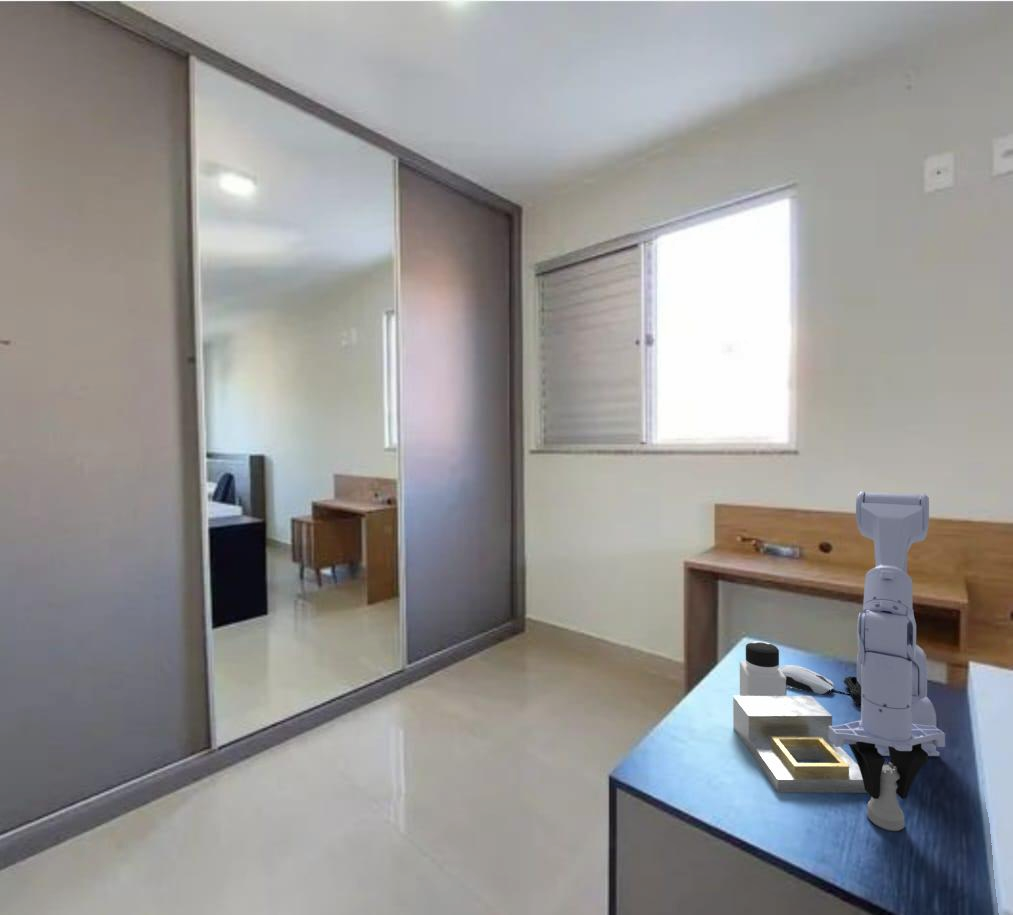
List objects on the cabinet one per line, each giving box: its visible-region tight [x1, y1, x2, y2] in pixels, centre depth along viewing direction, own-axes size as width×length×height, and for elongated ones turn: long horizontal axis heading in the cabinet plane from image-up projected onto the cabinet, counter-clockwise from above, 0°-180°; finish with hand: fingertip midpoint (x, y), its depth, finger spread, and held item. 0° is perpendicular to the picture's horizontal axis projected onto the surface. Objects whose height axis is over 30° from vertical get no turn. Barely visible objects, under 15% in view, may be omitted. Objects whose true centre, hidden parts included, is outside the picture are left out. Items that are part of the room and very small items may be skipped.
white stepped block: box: [732, 695, 869, 794], centre depth 90 cm, size 14×18×6 cm
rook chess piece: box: [865, 761, 906, 832], centre depth 75 cm, size 4×4×8 cm
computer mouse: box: [779, 664, 861, 707], centre depth 114 cm, size 10×18×4 cm, turn 57°
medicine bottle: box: [739, 640, 787, 696], centre depth 108 cm, size 7×7×12 cm
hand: (885, 794), depth 75 cm, fingers closed on rook chess piece, 3 cm apart
